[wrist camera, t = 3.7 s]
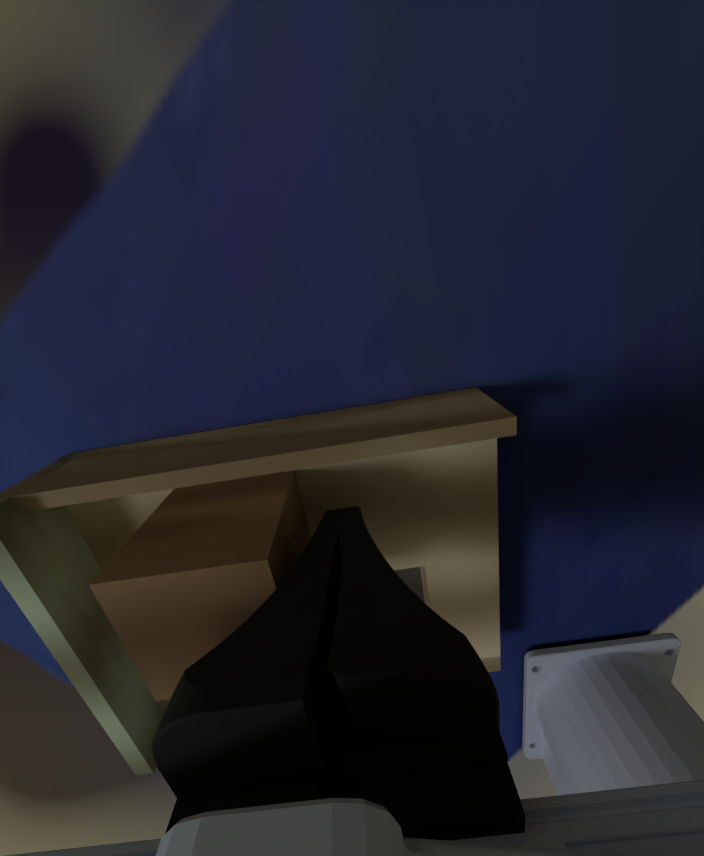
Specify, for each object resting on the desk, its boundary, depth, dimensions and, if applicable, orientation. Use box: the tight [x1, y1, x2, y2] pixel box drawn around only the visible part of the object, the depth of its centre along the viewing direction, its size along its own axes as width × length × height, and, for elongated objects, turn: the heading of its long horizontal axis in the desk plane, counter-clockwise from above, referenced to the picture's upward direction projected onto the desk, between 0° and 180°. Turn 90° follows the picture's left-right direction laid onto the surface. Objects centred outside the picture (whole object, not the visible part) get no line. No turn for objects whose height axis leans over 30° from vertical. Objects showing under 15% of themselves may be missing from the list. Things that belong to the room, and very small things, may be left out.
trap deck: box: [0, 387, 517, 775], centre depth 14 cm, size 14×17×4 cm
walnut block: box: [89, 470, 311, 701], centre depth 11 cm, size 4×4×4 cm
